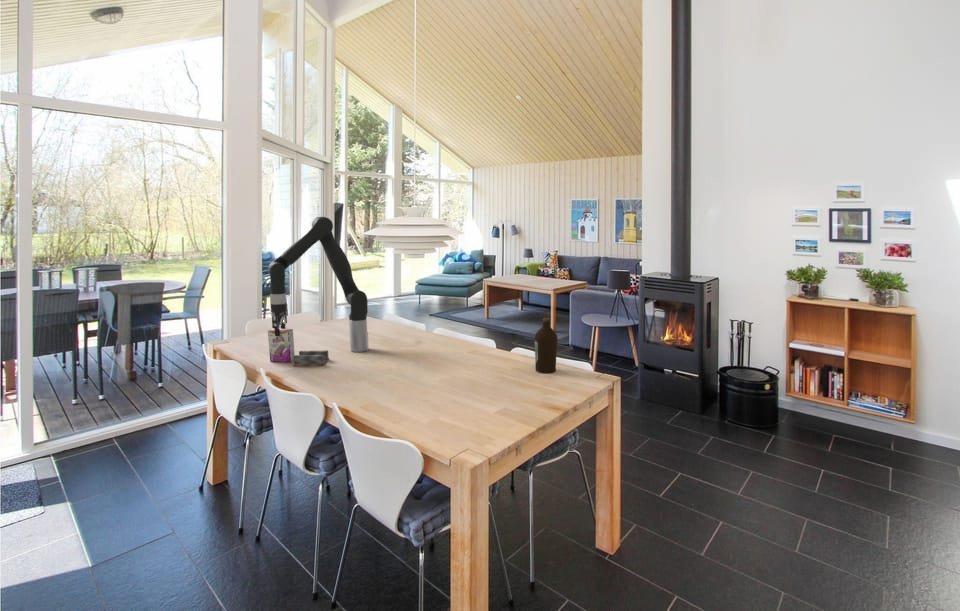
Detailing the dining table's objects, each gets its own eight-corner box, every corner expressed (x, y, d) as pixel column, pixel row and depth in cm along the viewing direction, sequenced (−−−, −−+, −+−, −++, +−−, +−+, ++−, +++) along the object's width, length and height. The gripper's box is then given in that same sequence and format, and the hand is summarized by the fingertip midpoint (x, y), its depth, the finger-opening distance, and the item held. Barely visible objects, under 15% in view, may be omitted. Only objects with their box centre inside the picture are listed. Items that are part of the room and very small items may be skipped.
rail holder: (329, 359, 256) (328, 350, 255) (322, 366, 244) (322, 356, 243) (301, 360, 255) (300, 350, 254) (293, 366, 243) (293, 356, 243)
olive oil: (556, 367, 240) (557, 316, 236) (557, 374, 229) (558, 320, 225) (534, 366, 241) (535, 316, 237) (533, 373, 231) (534, 320, 227)
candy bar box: (269, 362, 252) (267, 330, 249) (274, 359, 257) (272, 328, 254) (290, 362, 251) (288, 330, 248) (295, 359, 256) (293, 328, 253)
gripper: (281, 304, 242) (283, 337, 245) (290, 300, 256) (292, 331, 259) (265, 304, 242) (267, 337, 244) (275, 300, 256) (277, 331, 258)
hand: (280, 334), depth 251 cm, fingers open, 8 cm apart
